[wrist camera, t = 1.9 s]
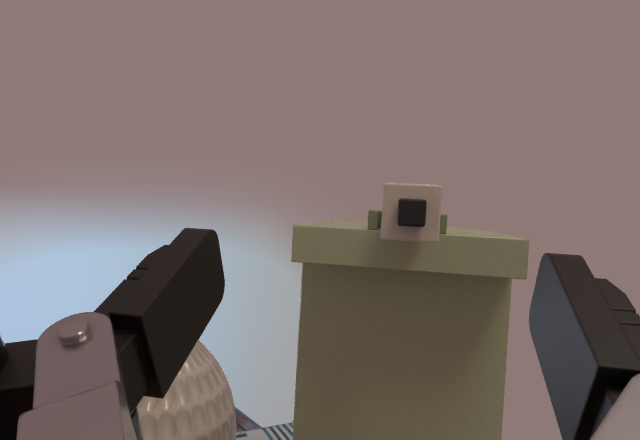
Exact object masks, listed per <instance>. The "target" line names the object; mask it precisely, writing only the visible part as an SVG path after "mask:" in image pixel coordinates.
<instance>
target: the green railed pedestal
mask: <svg viewBox="0 0 640 440" xmlns="http://www.w3.org/2000/svg"><path fill="white" fill-rule="evenodd" d="M381 220H382V211H371V210H370V211H369V215H368V223H367V222H351V221H334V220H331V221H322V222H314V223H306V224H297V225H293V239H292V256H291V261H292V262H301V263H302V279H301V297H300V317H299V334H298V352H297V370H296V389H295V407H294V425H293V440H501V432H502V418H503V402H504V388H505V372H506V358H507V343H508V328H509V312H510V297H511V283H512V279H527V267H528V250H529V240H528V239H524V238H519V237H514V236H510V235H505V234H500V233H495V232H491V231H486V230H481V229H467V228H451V227H447V215H444V214H441V215H440V231H439V242H438V243H428V242H412V241H397V240H382V239H381Z"/></svg>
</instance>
